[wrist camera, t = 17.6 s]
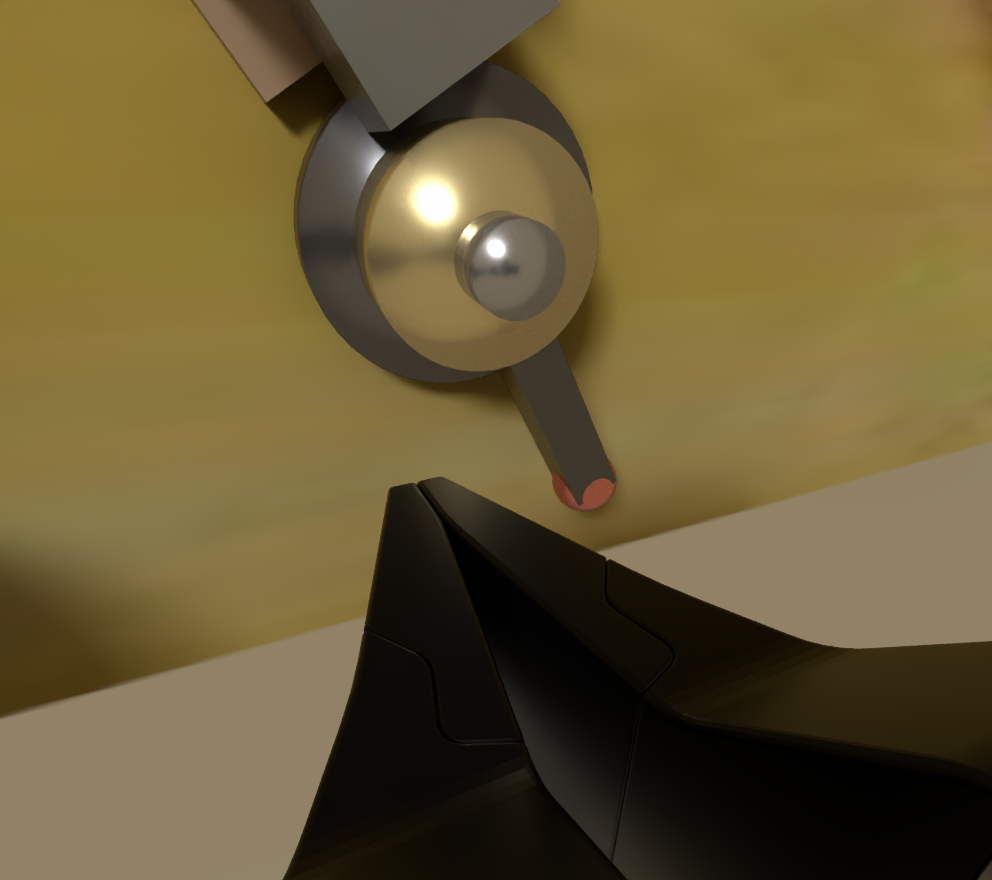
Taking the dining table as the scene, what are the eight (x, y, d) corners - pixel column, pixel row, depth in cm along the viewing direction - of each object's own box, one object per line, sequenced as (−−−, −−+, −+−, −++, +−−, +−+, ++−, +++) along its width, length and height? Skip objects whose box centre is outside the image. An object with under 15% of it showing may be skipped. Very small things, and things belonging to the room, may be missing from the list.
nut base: (411, 415, 23) (466, 503, 18) (220, 186, 17) (220, 218, 12) (609, 264, 23) (719, 307, 18) (489, -12, 18) (601, -64, 12)
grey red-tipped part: (305, 192, 16) (317, 203, 14) (512, 71, 17) (553, 65, 15) (512, 528, 25) (538, 565, 23) (642, 440, 26) (680, 470, 24)
